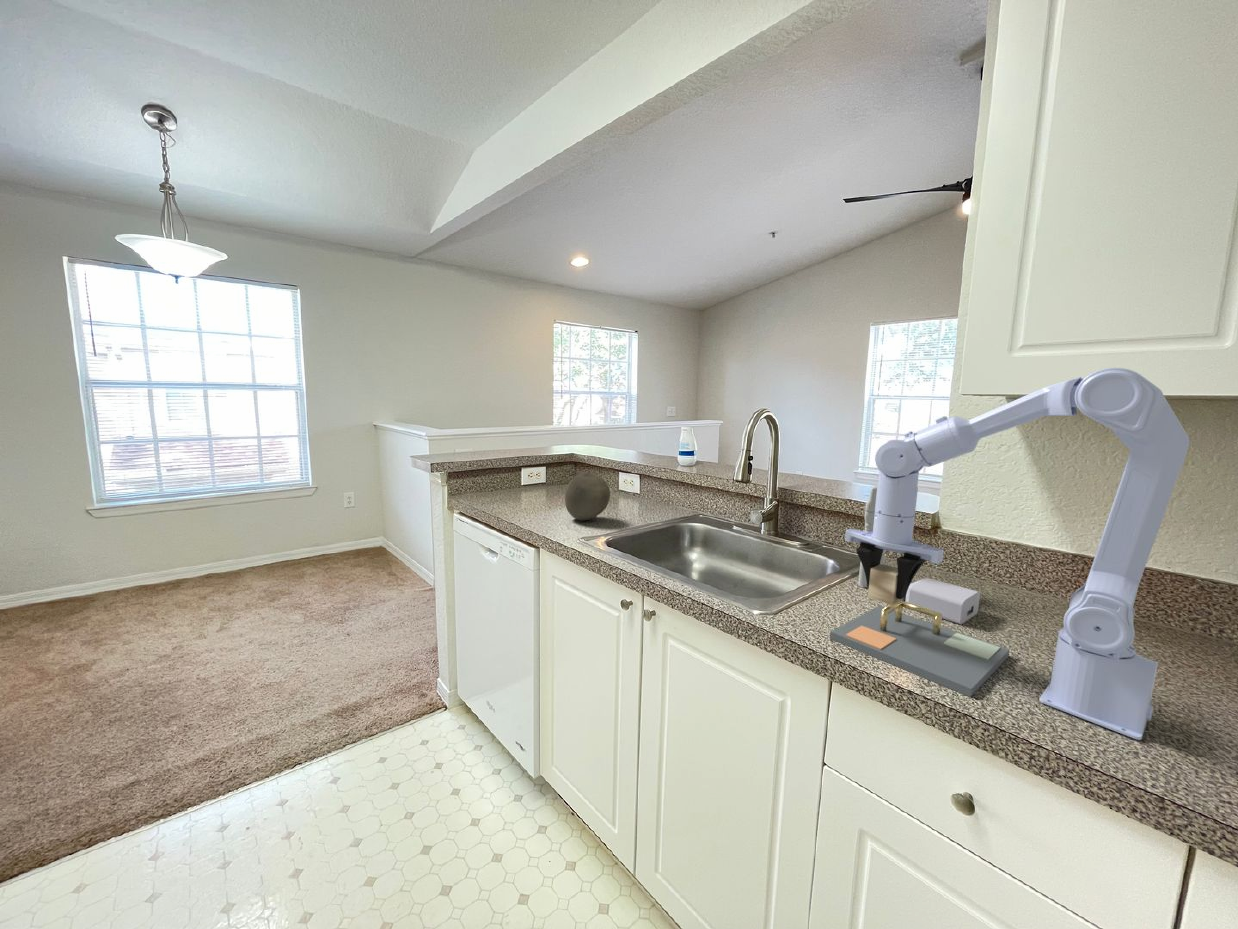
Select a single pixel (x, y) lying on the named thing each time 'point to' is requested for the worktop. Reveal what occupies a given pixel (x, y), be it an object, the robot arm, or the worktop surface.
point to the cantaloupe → (586, 496)
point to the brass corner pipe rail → (907, 605)
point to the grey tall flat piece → (869, 528)
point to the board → (924, 649)
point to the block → (884, 584)
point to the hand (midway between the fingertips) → (886, 592)
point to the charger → (944, 599)
